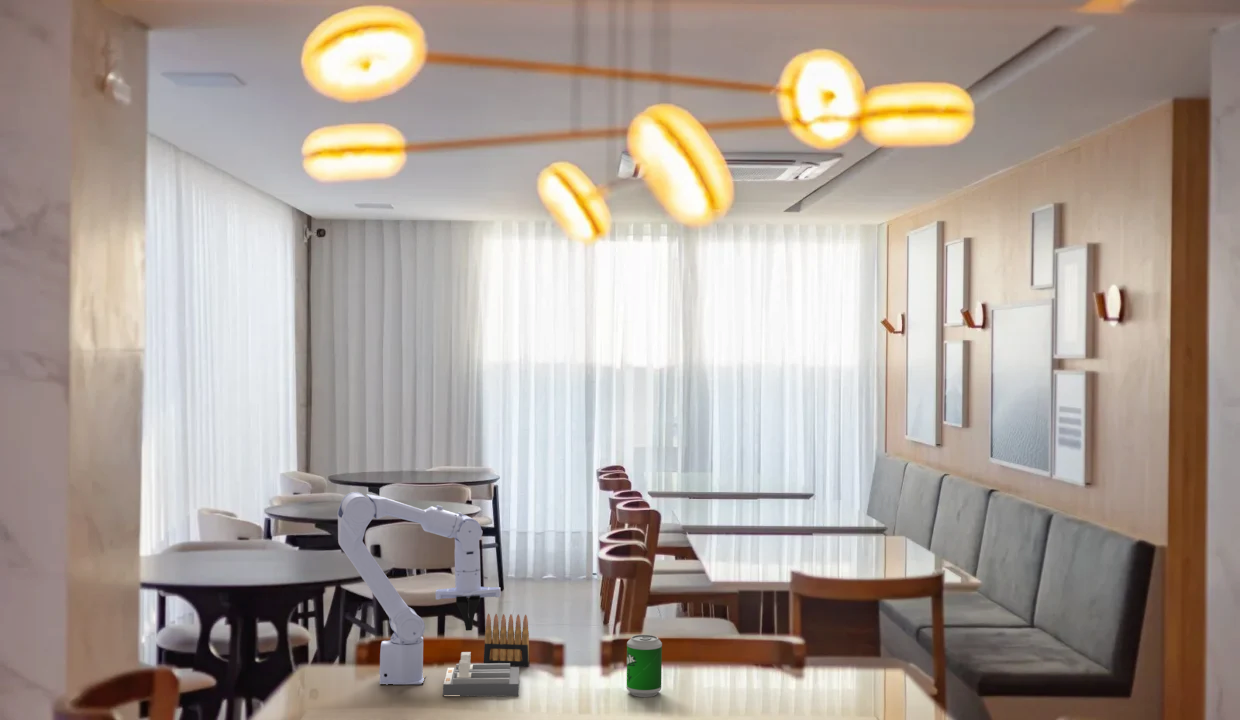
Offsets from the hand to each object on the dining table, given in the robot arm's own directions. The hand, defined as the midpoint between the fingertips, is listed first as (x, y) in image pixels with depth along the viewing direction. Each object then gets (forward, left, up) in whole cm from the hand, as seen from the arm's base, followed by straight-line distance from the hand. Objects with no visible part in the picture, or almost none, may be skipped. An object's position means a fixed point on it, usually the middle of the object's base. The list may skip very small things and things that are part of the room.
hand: (469, 629), depth 271 cm
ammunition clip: (+8, +9, -11) cm, 16 cm away
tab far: (0, -6, -8) cm, 10 cm away
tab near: (0, -13, -8) cm, 15 cm away
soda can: (+38, -16, -11) cm, 43 cm away
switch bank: (+3, -10, -10) cm, 15 cm away
